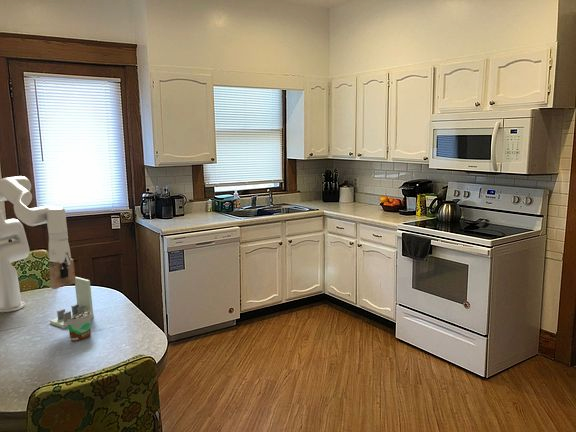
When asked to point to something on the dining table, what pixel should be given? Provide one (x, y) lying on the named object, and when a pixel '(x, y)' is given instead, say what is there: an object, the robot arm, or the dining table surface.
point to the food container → (80, 326)
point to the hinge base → (82, 303)
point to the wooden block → (56, 275)
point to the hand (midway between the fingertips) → (62, 276)
